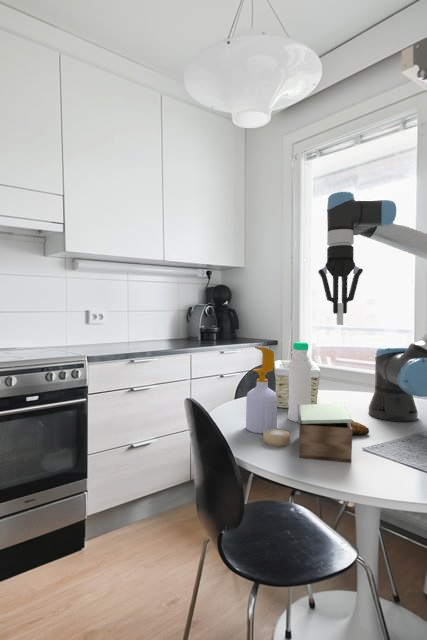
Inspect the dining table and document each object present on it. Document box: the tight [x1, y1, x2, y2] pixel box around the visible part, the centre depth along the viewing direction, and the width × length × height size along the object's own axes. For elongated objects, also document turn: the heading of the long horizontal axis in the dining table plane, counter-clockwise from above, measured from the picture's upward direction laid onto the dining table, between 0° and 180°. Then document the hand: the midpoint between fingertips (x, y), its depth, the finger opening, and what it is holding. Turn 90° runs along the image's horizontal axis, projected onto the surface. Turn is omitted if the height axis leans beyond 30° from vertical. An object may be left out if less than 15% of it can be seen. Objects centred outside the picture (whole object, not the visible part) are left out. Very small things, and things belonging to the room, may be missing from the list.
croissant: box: [350, 419, 370, 436], centre depth 116 cm, size 14×7×5 cm, turn 82°
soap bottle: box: [245, 346, 278, 435], centre depth 119 cm, size 9×9×25 cm
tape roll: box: [262, 428, 291, 448], centre depth 108 cm, size 7×7×2 cm
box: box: [298, 423, 353, 463], centre depth 104 cm, size 12×16×8 cm
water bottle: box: [287, 341, 312, 423], centre depth 129 cm, size 7×7×25 cm
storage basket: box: [273, 359, 321, 409], centre depth 153 cm, size 24×16×15 cm
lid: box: [297, 402, 353, 424], centre depth 104 cm, size 12×16×1 cm
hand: (339, 324), depth 121 cm, fingers closed
